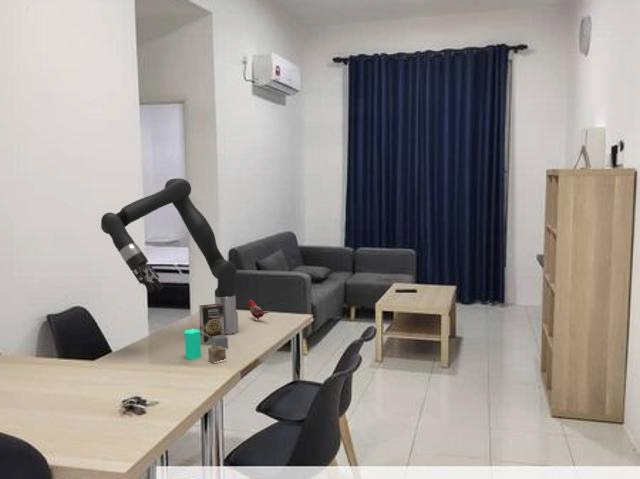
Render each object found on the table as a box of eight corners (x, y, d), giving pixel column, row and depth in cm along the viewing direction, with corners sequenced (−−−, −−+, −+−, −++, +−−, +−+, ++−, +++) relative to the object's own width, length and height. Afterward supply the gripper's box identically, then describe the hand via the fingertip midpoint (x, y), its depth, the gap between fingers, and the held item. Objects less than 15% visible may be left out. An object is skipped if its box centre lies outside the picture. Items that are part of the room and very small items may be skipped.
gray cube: (223, 346, 239) (222, 334, 239) (227, 349, 235) (227, 337, 235) (211, 348, 237) (211, 336, 236) (216, 351, 233) (215, 339, 232)
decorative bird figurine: (251, 318, 288) (250, 298, 287) (271, 324, 274) (270, 303, 273) (246, 319, 286) (245, 299, 285) (266, 325, 273) (265, 304, 272)
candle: (186, 355, 228) (185, 325, 227) (202, 354, 228) (200, 325, 227) (184, 359, 222) (183, 329, 221) (200, 359, 222) (199, 328, 221)
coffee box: (204, 345, 241) (202, 307, 239) (199, 341, 247) (198, 305, 245) (224, 342, 245) (223, 305, 244) (220, 338, 251) (219, 302, 249)
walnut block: (220, 358, 223) (220, 345, 223) (225, 361, 219) (225, 348, 218) (208, 360, 221) (208, 348, 220) (213, 364, 216) (213, 351, 216)
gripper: (133, 251, 220) (156, 286, 219) (148, 250, 235) (170, 282, 234) (118, 263, 221) (141, 297, 220) (134, 261, 235) (156, 293, 234)
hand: (156, 289), depth 227 cm, fingers open, 8 cm apart
